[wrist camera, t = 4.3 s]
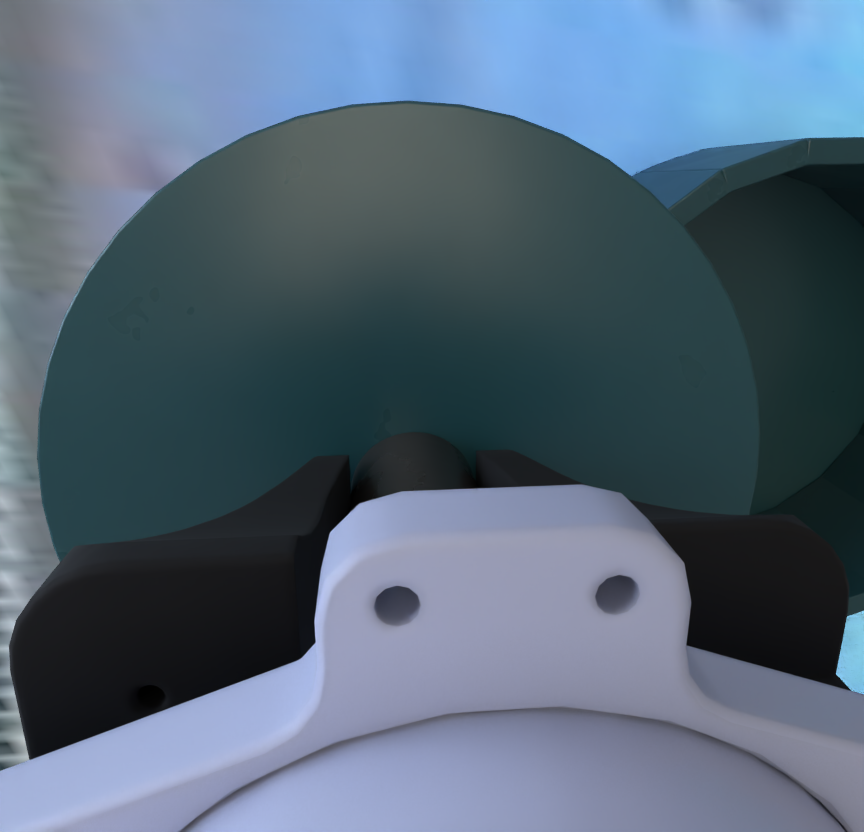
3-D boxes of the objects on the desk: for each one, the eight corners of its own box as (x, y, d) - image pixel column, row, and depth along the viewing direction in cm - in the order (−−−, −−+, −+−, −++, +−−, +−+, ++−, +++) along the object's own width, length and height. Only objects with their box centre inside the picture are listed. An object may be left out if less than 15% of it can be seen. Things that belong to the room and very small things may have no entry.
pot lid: (698, 722, 18) (795, 882, 14) (112, 760, 17) (30, 945, 13) (778, 107, 14) (950, 75, 10) (-2, 106, 13) (-179, 69, 9)
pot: (933, 523, 27) (1080, 611, 22) (435, 549, 26) (454, 651, 20) (1015, 144, 23) (1222, 132, 17) (429, 152, 22) (450, 142, 16)
